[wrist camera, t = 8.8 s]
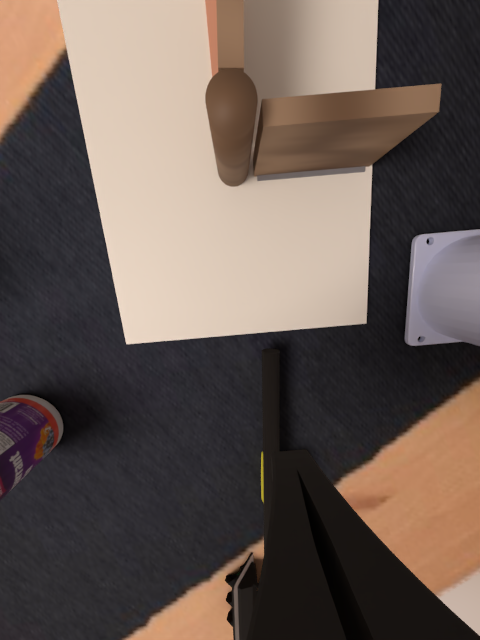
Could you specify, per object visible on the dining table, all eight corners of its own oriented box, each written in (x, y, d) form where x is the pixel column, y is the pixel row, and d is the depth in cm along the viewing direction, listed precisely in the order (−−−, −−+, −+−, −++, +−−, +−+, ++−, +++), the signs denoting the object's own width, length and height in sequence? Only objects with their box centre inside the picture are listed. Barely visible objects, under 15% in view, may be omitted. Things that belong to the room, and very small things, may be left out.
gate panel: (240, 141, 14) (243, 67, 9) (224, 140, 14) (218, 67, 9) (239, -33, 12) (241, -244, 7) (220, -33, 12) (210, -246, 7)
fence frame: (370, 139, 14) (464, 47, 8) (368, 175, 15) (457, 110, 9) (215, 153, 14) (202, 70, 8) (219, 187, 15) (208, 132, 9)
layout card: (379, -115, 12) (383, -128, 12) (364, 322, 17) (367, 323, 17) (42, -86, 12) (36, -99, 12) (128, 343, 17) (125, 344, 17)
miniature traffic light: (243, 333, 22) (249, 583, 26) (202, 346, 18) (217, 644, 22) (313, 342, 18) (306, 636, 22) (282, 362, 14) (281, 724, 18)
